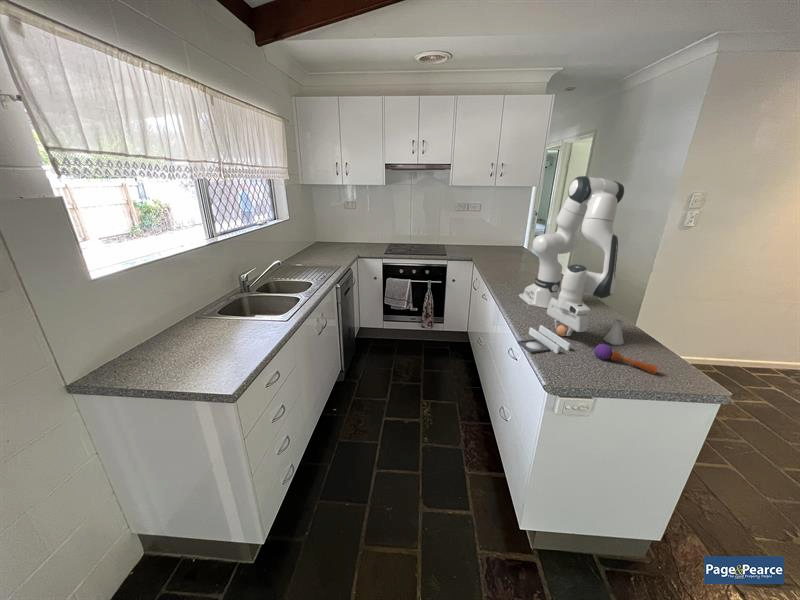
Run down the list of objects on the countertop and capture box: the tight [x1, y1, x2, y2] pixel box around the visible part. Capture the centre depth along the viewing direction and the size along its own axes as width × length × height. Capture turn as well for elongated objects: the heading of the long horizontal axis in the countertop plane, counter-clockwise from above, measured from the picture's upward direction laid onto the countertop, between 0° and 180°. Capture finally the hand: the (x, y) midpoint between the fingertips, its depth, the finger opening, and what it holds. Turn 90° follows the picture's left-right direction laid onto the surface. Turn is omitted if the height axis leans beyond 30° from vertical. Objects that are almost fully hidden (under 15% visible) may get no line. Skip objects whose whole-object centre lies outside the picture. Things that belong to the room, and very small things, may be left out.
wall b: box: [528, 327, 561, 354], centre depth 136 cm, size 18×1×3 cm, turn 15°
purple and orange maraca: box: [593, 343, 659, 376], centre depth 122 cm, size 6×6×20 cm
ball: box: [555, 324, 569, 337], centre depth 143 cm, size 5×5×5 cm
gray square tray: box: [517, 338, 552, 354], centre depth 133 cm, size 9×9×1 cm
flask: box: [602, 318, 625, 346], centre depth 137 cm, size 7×7×10 cm
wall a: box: [538, 324, 572, 352], centre depth 139 cm, size 18×1×3 cm, turn 15°
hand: (562, 332), depth 143 cm, fingers closed on ball, 5 cm apart
